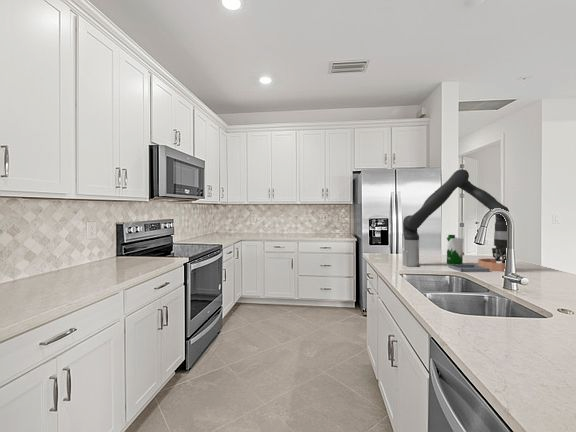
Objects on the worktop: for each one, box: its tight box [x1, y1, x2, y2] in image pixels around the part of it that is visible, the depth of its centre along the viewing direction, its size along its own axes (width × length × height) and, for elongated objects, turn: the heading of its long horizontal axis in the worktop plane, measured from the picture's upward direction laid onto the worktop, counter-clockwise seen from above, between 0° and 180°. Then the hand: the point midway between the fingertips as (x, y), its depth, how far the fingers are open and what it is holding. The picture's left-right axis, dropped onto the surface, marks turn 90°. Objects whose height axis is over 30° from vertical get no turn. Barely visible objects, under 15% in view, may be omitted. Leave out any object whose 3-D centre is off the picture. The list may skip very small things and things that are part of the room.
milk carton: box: [445, 234, 464, 265], centre depth 209 cm, size 9×9×20 cm
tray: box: [448, 263, 491, 273], centre depth 189 cm, size 16×14×2 cm
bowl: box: [477, 258, 505, 273], centre depth 191 cm, size 18×18×6 cm
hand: (501, 265), depth 191 cm, fingers closed on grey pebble, 5 cm apart
